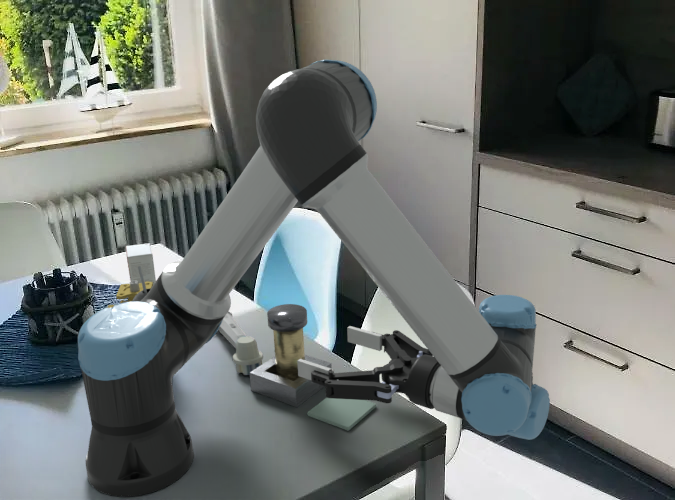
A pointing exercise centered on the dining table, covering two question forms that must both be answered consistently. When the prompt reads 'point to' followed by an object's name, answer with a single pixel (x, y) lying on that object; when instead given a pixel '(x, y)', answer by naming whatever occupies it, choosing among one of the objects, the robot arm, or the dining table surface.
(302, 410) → the dining table surface
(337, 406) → the mat
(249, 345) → the white handheld tool
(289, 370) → the tan and grey cylinder
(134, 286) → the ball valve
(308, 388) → the box
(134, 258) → the small box
